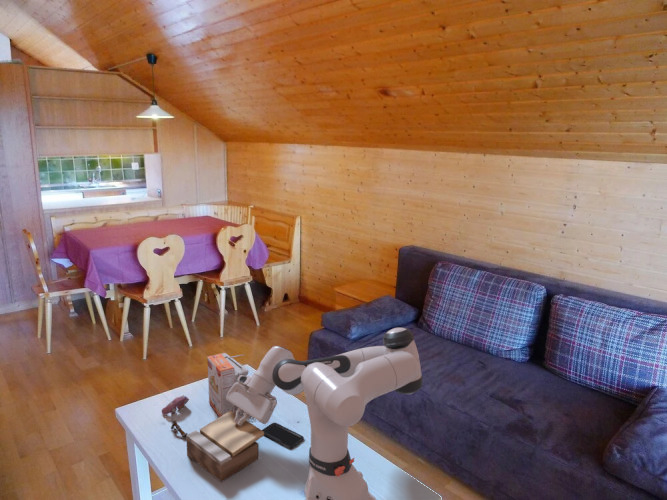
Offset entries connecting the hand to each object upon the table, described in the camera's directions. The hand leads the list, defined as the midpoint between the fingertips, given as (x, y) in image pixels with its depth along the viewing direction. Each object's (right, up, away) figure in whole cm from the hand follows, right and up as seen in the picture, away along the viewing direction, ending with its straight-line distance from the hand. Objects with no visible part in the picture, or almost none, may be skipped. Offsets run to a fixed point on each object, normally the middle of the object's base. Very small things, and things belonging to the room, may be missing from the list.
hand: (236, 423), depth 165 cm
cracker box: (-11, -3, +24) cm, 26 cm away
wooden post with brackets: (-23, -7, +8) cm, 25 cm away
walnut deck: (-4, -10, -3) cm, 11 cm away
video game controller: (-28, -3, +23) cm, 36 cm away
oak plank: (-1, -3, -2) cm, 4 cm away
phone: (+14, -8, +9) cm, 19 cm away
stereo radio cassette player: (-11, 0, +37) cm, 38 cm away
